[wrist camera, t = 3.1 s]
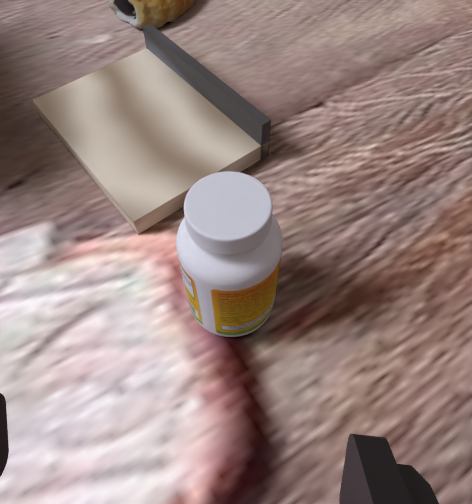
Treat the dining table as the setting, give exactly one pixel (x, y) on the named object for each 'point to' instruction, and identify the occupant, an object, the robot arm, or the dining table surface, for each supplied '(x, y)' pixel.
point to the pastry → (149, 11)
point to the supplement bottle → (229, 253)
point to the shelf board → (154, 128)
